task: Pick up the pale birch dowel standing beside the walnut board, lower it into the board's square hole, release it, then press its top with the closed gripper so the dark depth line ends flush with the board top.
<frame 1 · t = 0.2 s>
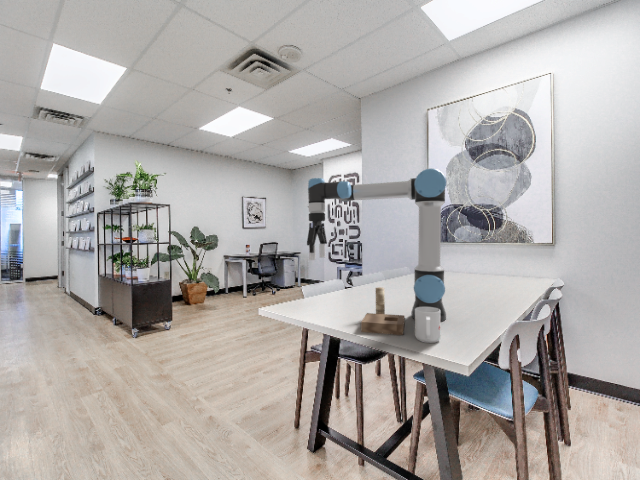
hand: (317, 258, 147), 28 cm above the table, fingers open, 13 cm apart
mug: (427, 341, 116), on the table
peg: (380, 318, 146), on the table
board: (383, 328, 132), on the table
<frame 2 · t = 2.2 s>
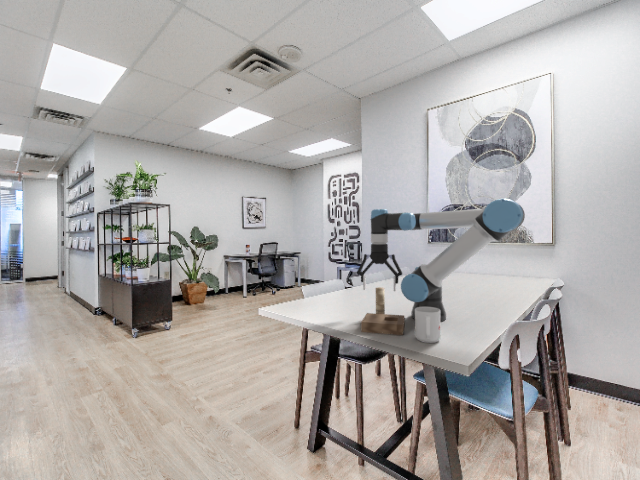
hand: (379, 290, 146), 13 cm above the table, fingers open, 13 cm apart
nothing on the table moved.
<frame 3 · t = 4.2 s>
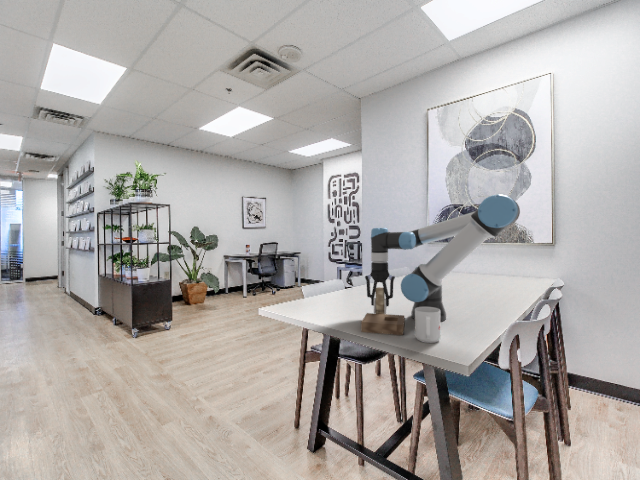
hand: (380, 312, 146), 3 cm above the table, fingers closed on peg, 4 cm apart
peg: (380, 318, 146), on the table, touching gripper
everything else where it was.
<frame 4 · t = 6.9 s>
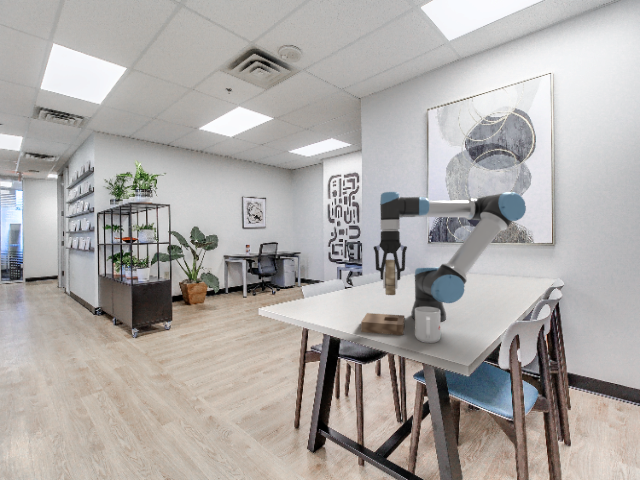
hand: (390, 287, 130), 17 cm above the table, fingers closed on peg, 4 cm apart
peg: (390, 294, 130), point 14 cm above the table, touching gripper
everything else where it was.
when the fingers open (5 cm above the table, at t = 9.5 s): peg drops 3 cm, resting in board.
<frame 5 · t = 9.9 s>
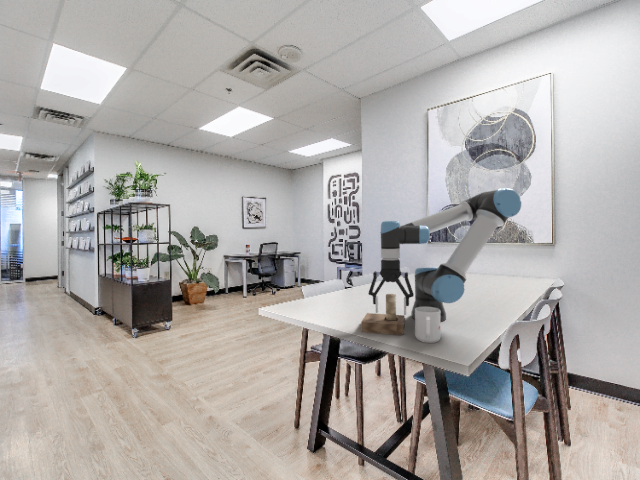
hand: (390, 313, 131), 6 cm above the table, fingers open, 10 cm apart
peg: (391, 328, 131), resting in board
everything else where it was.
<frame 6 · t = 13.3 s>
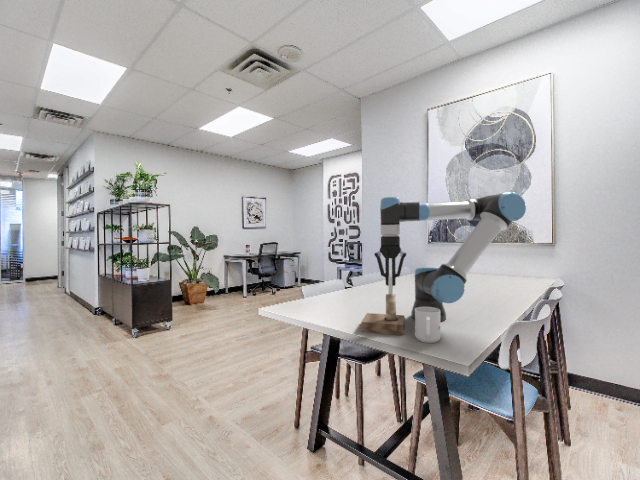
hand: (390, 293, 130), 15 cm above the table, fingers closed
nothing on the table moved.
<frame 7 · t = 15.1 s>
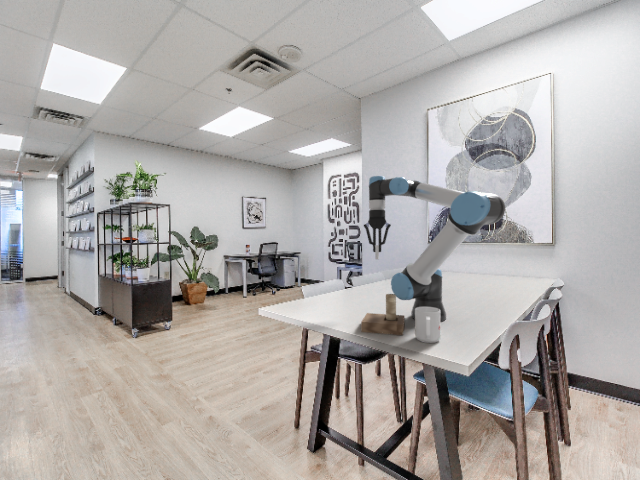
hand: (377, 259, 153), 27 cm above the table, fingers closed
nothing on the table moved.
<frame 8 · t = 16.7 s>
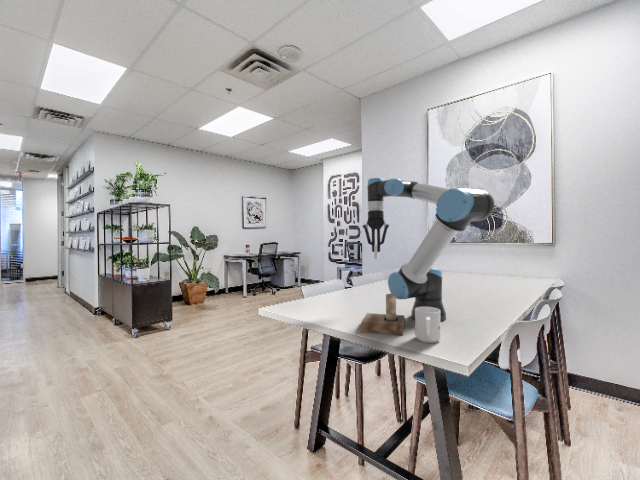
hand: (376, 258, 157), 26 cm above the table, fingers closed
nothing on the table moved.
at the end: peg 0.0 cm from the target spot in the board, point 0.0 cm above the board's base; peg tilted 0°; the gripper is holding nothing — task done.
